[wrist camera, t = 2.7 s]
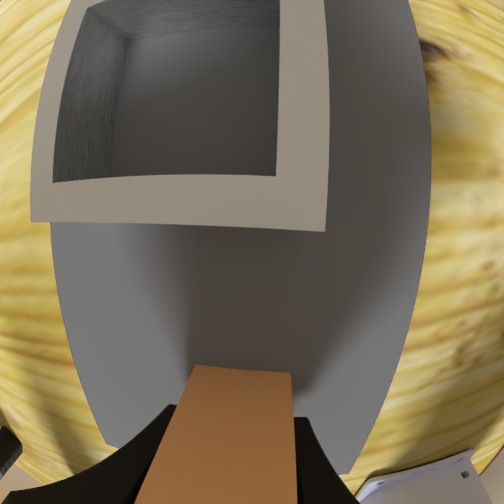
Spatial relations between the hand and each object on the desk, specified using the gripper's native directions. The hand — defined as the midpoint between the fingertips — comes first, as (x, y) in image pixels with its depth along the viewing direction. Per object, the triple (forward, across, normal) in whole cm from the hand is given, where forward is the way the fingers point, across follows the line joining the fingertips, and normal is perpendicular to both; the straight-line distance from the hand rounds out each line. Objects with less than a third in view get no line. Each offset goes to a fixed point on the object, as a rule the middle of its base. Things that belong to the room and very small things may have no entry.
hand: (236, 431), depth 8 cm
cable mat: (+2, +1, -6) cm, 6 cm away
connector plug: (+2, 0, 0) cm, 2 cm away
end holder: (+2, +2, -11) cm, 11 cm away
